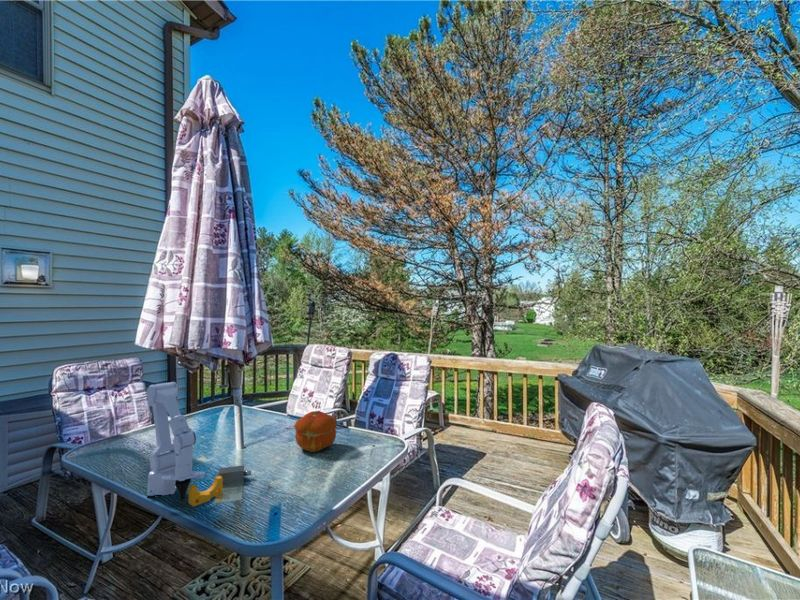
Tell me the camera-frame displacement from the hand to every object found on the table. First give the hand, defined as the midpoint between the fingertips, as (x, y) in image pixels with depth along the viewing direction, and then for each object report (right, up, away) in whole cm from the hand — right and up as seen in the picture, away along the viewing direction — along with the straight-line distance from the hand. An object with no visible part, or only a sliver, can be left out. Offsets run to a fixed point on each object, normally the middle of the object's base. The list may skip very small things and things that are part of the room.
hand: (183, 498), depth 148 cm
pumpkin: (+39, -4, +59) cm, 70 cm away
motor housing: (+15, -2, +12) cm, 19 cm away
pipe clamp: (+8, -2, +3) cm, 9 cm away
